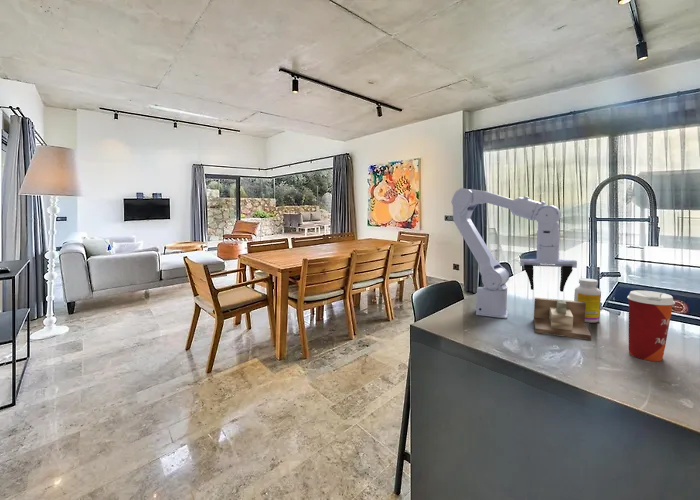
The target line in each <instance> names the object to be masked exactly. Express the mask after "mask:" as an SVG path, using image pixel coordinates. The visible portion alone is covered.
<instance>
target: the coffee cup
mask: <svg viewBox="0 0 700 500" xmlns="http://www.w3.org/2000/svg"><path fill="white" fill-rule="evenodd" d="M626 298H627V299H628V354H629V355H631V356H632V357H634V358H637V359H640V360H643V361H650V362H660V361H663V358H664V354H665V349H666V345H667V344H666V343H667V340H668V339H667V338H668V334H669V327H670V323H671V316H672V311H673V306H674V305H675V304H676V302H675V301H674V297H673V296H672V295H671V294H668V293H665V292H659V291H651V290H631V291H630V292H629V294H628V295H627V297H626Z"/></svg>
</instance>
